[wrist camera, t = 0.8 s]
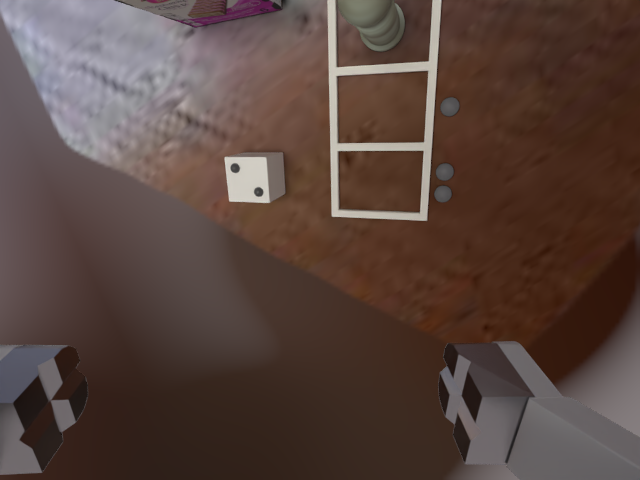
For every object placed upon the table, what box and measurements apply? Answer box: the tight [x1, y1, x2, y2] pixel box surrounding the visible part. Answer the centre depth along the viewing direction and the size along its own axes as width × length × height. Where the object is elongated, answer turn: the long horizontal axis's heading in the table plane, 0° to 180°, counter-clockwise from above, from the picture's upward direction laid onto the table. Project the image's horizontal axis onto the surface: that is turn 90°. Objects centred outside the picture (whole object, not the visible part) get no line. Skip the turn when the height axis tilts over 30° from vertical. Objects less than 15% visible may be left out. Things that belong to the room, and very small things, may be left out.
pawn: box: [337, 0, 405, 52], centre depth 31 cm, size 4×4×14 cm
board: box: [328, 0, 459, 221], centre depth 39 cm, size 24×13×1 cm, turn 2°
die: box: [225, 152, 286, 203], centre depth 43 cm, size 5×5×6 cm
